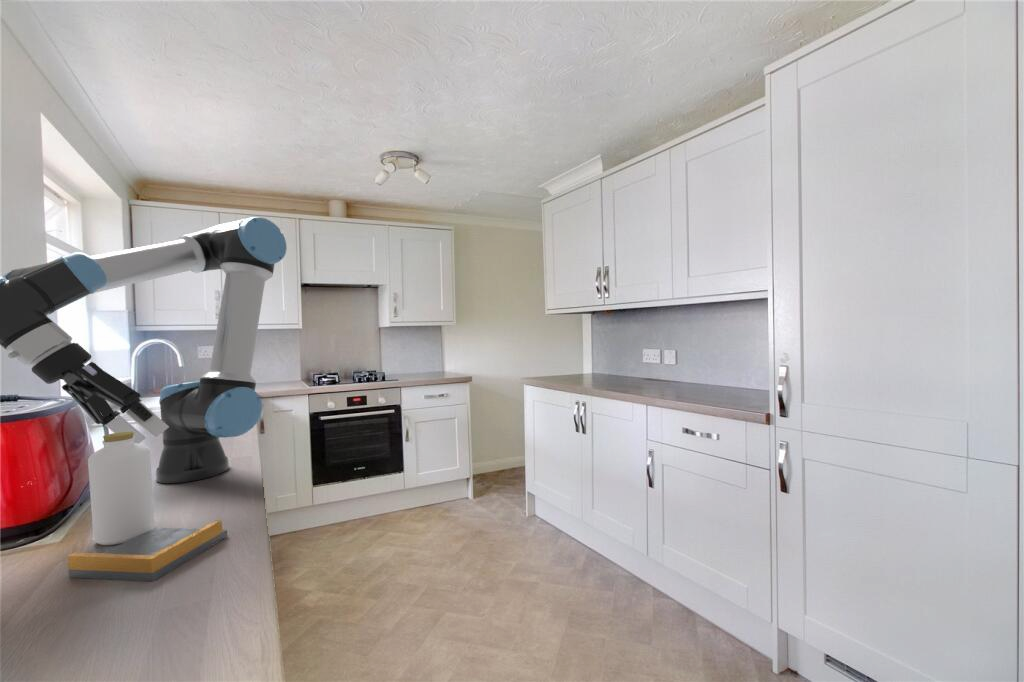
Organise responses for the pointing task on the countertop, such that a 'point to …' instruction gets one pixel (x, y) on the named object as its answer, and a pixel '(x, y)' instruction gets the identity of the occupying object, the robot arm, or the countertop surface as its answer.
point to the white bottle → (121, 490)
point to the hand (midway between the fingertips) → (150, 438)
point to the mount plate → (146, 554)
